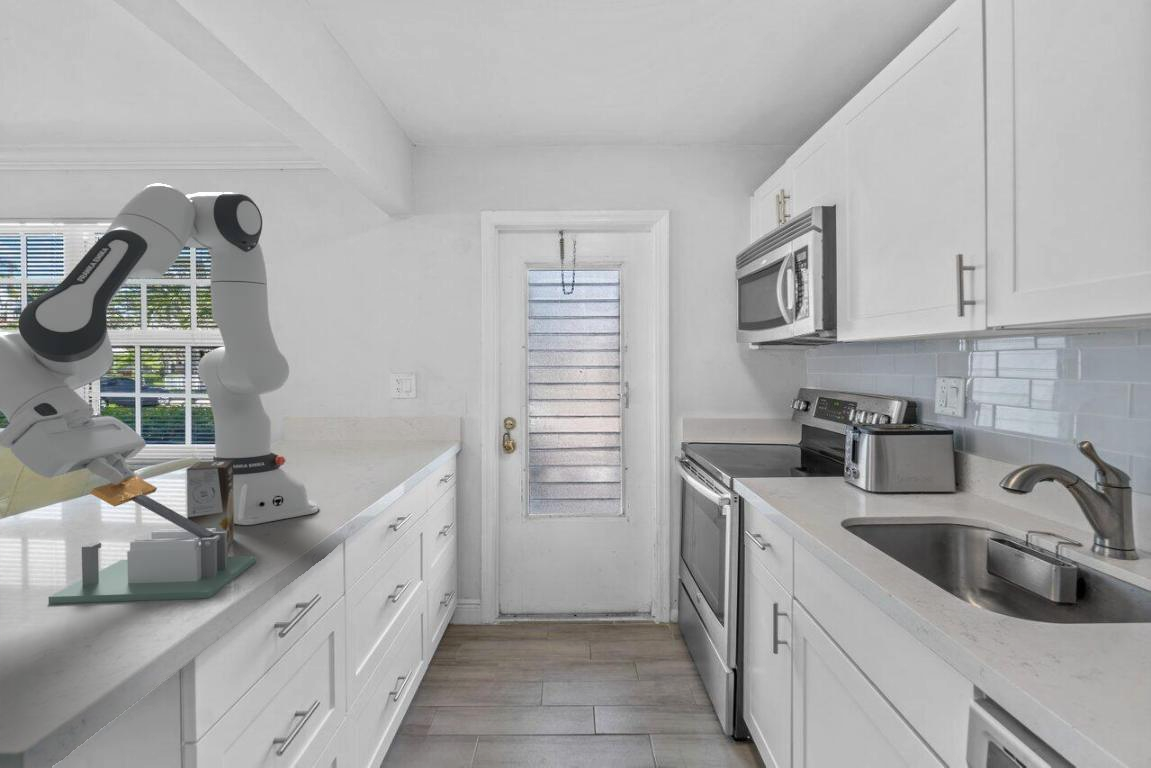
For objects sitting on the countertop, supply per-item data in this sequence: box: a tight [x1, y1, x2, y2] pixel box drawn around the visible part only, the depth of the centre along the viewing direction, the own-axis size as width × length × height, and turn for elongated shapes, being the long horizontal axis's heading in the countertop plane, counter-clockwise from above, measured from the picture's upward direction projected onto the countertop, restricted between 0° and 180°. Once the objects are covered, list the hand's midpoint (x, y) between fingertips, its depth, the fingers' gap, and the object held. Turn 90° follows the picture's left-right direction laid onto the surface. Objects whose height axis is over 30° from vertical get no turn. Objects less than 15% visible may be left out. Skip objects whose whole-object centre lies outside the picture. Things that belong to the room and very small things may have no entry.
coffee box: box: [186, 460, 235, 551], centre depth 110 cm, size 9×6×16 cm
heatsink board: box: [47, 528, 257, 605], centre depth 94 cm, size 22×16×7 cm
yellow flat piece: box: [90, 475, 214, 539], centre depth 93 cm, size 17×10×1 cm
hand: (125, 480), depth 93 cm, fingers closed
